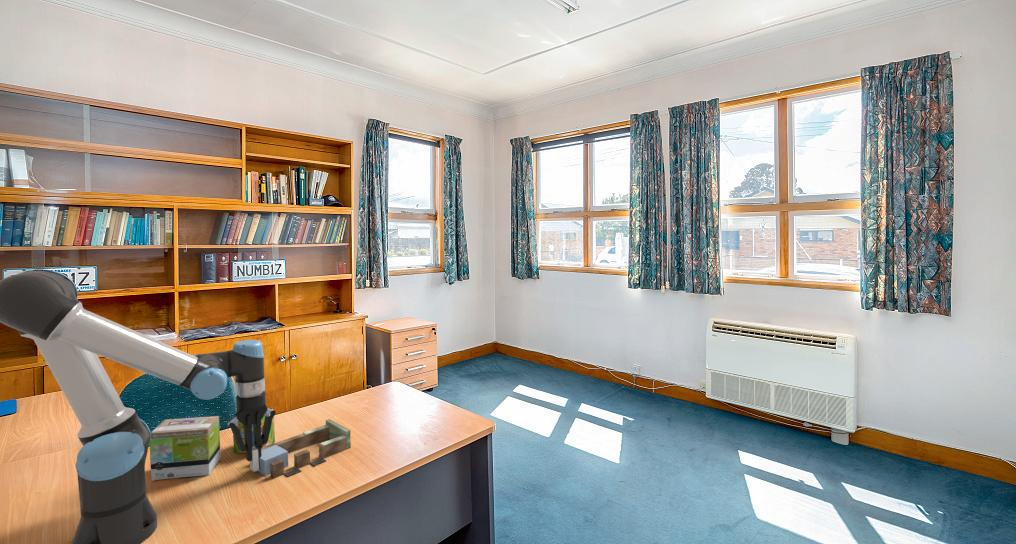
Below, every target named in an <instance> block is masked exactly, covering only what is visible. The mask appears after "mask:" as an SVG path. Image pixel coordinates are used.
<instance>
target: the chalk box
mask: <svg viewBox="0 0 1016 544" xmlns="http://www.w3.org/2000/svg"><path fill="white" fill-rule="evenodd" d="M265 416H266V415H264V417H263V418H262V420H261V435H262V430H263V425H264V420H265ZM237 427H238V429H239V431H240V434H241V437H242V440H243V442H244V445H245V441H244V427H243V424H242V423H241V422H240V421H239V420H238V426H237ZM275 434H276V433H275V416H274V417H273V419H272V424H271V429H270V434H269V439H268V443H267V444H264V445H262V446H263V447H265V446H268V445H271V444H274V443H276V439H275V438H276V436H275ZM232 438H233V441H232V442H233V453H234V454H246V451H244V452H242V451H241V450H240V449H238V446H237V444H236V441H235V438H234V435H233V434H232ZM254 446H255V445H254V430H253V424H252V447H254Z"/></svg>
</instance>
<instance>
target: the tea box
mask: <svg viewBox="0 0 1016 544" xmlns="http://www.w3.org/2000/svg"><path fill="white" fill-rule="evenodd" d="M150 433H151V436H150V437H151V441H150V445H149V460H150V464H149V465H150V476H151V477H150V478H151V481H152V482H153V481H159V480H166V479H169V480H170V479H178V478H188V477H189V478H190V477H201V476H204V477H205V476H210V474H211V472H212V471H213V470H214V468H215V467H216V466H217V464H218V463H219V461H220V459H221V439H220V438H221V437H220V435H221V434H220V415H214V416H213V415H212V416H199V417H198V416H197V417H185V418H171V419H170V418H169V419H164V420H162V422H160V424H158V426H156V427H155V428H154V429H153V430H152V431H150Z"/></svg>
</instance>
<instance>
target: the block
mask: <svg viewBox="0 0 1016 544" xmlns="http://www.w3.org/2000/svg"><path fill="white" fill-rule="evenodd" d="M261 454H262V456H261V457H260V458H258V460H259V470H258V471H257V472H258V473H260V474H261V475H263V476H264V477H266V476H269V475H271V469H270V463H272V462H274V461H277V460H280V459H281V460H283V461H284V469H285V468H287V467H289V453H288V451H286V450H285V449H283V448H281V447H279V446H277V445H274V446H271V447H269V448H266V449H264V450H261Z"/></svg>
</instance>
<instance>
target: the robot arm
mask: <svg viewBox="0 0 1016 544" xmlns="http://www.w3.org/2000/svg"><path fill="white" fill-rule="evenodd" d="M78 293H79V291H78V288H77V286H76V283H75V282H74V281H73V280H72V279H71V277H70V278H69V276H67V275H66V274H64V273H61V272H59V271H57V270H53V269H52V270H51V269H46V268H45V269H44V268H39V269H38V268H36V269H31V270H30V269H29V270H25V271H23V272H18V273H16V274H13V275H9V276H6V277H5V278H2V279H1V280H0V324H3V325H4V326H7V327H9V328H11V329H14V330H16V331H17V332H18V333H19V335H20V337H24V338H27V339H28V338H29V339H31V340H33V342H34V343H35V345H36V347H37V349H38V350H39V352H40V353H41V354H40V355H41V356H42V357H43V359H44V361H45V363H46V365H47V367H48V368H49V370H50V372H51V373H52V375H53V377H54V379H55V381H56V382H57V384H58V386H59V388H60V390H61V391H62V393H63V395H64V397H65V398H66V400H67V402H68V405H69V406H70V407H71V409H72V411H73V413H74V414H75V416H76V418H77V420H78V422H79V423H80V425H81V426H80V429H79V431H78V432H77V435H76V437H77V439H79V442H80V443H81V445H82V447H81V448H80V450H79V451H78V452H77V455H76V460H75V469H76V473H77V474H76V475H77V483H78V486H77V487H78V494H79V495H78V496H79V507H80V518H79V521H78V524H77V526H76V530H75V532H74V536H73V539H72V543H71V544H141V543H143V542H144V541H146V540H147V539H148V538H150V537H151V536H152V534H154V532H155V531H156V530H157V527H158V515H157V512H156V510H155V509H154V507H153V505H152V504H151V502H150V500H149V499H148V496H147V486H146V468H145V467H146V460H147V455H148V451H149V448H150V441H151V437H150V436H151V430H150V428H149V426H148V424H147V423H146V422H145V421H144V420H143V419H141V418H140V417H139V415H138V414H137V411H136V410H135V409H134V408H131V407H126V406H124V403H123V402H122V400H121V397H120V396H119V394H118V392H117V390H116V388H115V387H114V384H113V382H112V381H111V378H110V377H109V375H108V373H107V371H106V369H105V367H104V365H103V364H102V361H101V360H100V357H99V356H101V357H103V358H106V359H109V360H111V361H113V362H116V363H118V364H121V365H124V366H127V367H130V368H132V369H134V370H137V371H139V372H141V373H145V374H147V375H150V376H152V377H155V378H158V379H160V380H163V381H167V382H169V383H171V384H174V385H176V386H180V387H182V388H184V389H186V390H188V391H191V393H192V394H193V396H195V397H196V398H198V399H200V400H205V401H207V400H212V399H216V398H218V397H219V396H221V395H222V394H223V393H224V392H225V390H226V388H227V384H228V378H232V377H234V384H235V385H234V386H235V395H236V397H235V406H236V412H235V414H234V417H233V418H232V419H231V420H228V421H227V422H226V425H227V426H228V427H229V428H230V430H231V433H232V436H233V435H234V438H235V441H236V444H237V446H238V449H240V450H241V451H242V452H244V451H246V453H245V459H246V461H247V462H249V469H250V470H251V471H252V472H254V473H255V472H258V470H259V460H258V458H260V457H261V456H262V454H261V449H262V447H263V446H262V445H264V444H267V443H268V439H269V434H270V429H271V424H272V419H273V417H274V418H275V416H276V411H275V410H274V409H272V408H268V406H267V404H266V402H267V401H266V400H267V397H266V391H265V390H266V382H265V381H266V380H265V379H266V378H265V355H264V346H263V345H264V344H263V343H262V342H261V340H257V339H245V340H241V341H237V342H235V343H234V344H233V346H232V349H231V350H224V351H216V352H207V353H197V354H191V353H188V352H185V351H183V350H181V349H179V348H176V347H174V346H171V345H169V344H167V343H165V342H162V341H160V340H157V339H155V338H154V337H153V338H152V337H150V336H148V335H146V334H143V333H141V332H139V331H137V330H134V329H131V328H130V327H127V326H125V325H123V324H120V323H117V322H115V321H113V320H111V319H108V318H106V317H104V316H101V315H99V314H97V313H94V312H92V311H89V310H87V309H85V308H84V307H83V303H82V302H81V301H79V299H78V296H79V295H78ZM264 415H266V416H265V420H264V425H263V430H262V435H261V420H262V418H263V417H264ZM238 420H239V421H240V422H241V423H242V424H243V427H244V441H245V445H244V442H243V440H242V437H241V434H240V431H239V429H238V427H237V426H238ZM252 424H253V430H254V445H255V446H254V447H252Z"/></svg>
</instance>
